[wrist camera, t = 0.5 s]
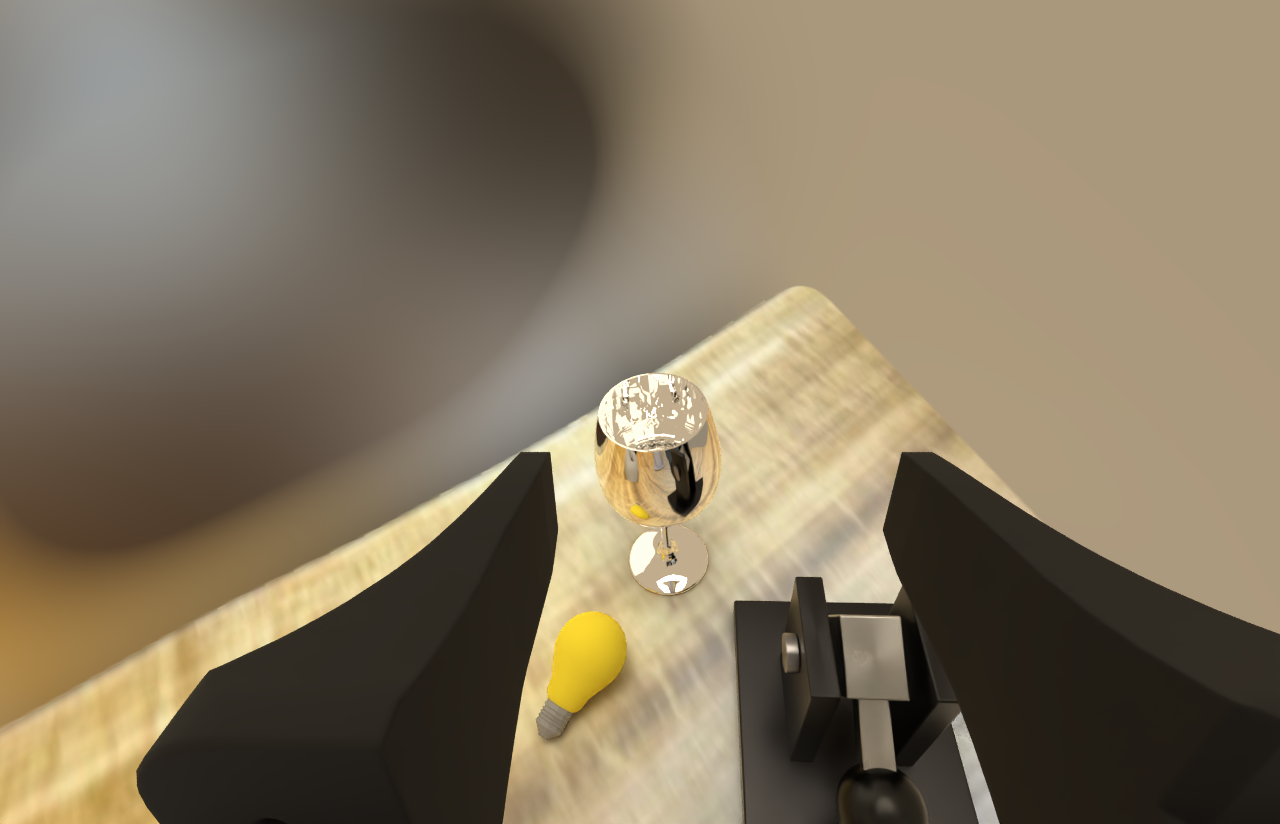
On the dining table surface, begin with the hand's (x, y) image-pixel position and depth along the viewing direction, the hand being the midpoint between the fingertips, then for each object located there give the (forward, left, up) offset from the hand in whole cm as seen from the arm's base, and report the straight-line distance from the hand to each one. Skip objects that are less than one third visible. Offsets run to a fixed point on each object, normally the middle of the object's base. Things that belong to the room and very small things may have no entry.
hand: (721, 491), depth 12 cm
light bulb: (+3, +6, -20) cm, 21 cm away
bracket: (+2, -6, -20) cm, 21 cm away
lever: (0, -6, -15) cm, 16 cm away
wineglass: (+10, +2, -20) cm, 22 cm away
